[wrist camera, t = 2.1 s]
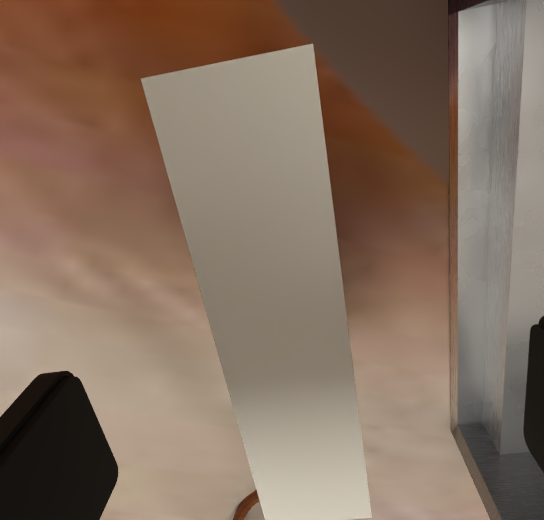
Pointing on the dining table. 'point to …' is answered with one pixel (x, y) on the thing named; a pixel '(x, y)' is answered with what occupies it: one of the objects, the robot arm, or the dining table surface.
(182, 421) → the dining table surface
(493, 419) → the door track
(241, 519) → the glasses
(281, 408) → the door panel
